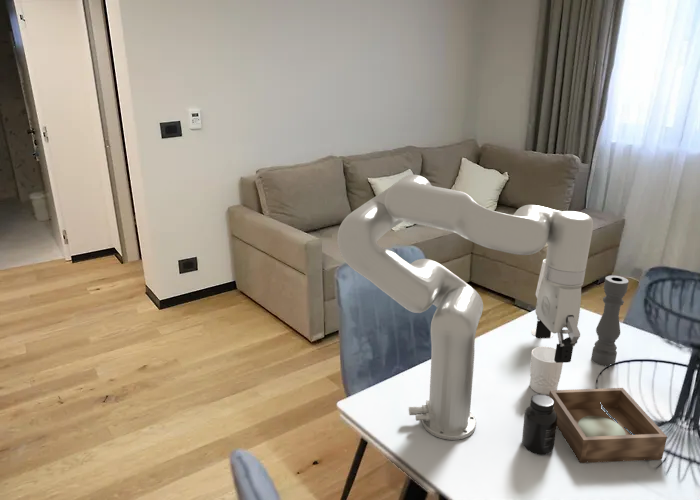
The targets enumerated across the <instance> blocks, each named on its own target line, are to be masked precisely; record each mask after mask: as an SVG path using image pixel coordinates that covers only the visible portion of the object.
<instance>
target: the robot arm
mask: <svg viewBox="0 0 700 500" xmlns="http://www.w3.org/2000/svg"><path fill="white" fill-rule="evenodd" d="M404 222H406V223H410V224H414V225H418V226H419V225H420V226H425V227H430V228H434V229H439V230H442V231H447V232H451V233H455V234H457V235H458V236H460V237H462V238H464V239H465V240H467V241H469V242H473V243H474V244H477V245H479V246H481V247H484V248H487V249H489V250H490V249H491V250H495V251H499V252H503V253H508V254H512V255H520V256H529V255H533V254H536V253H539V252H540V251H541V250H542V249H544V247H546V245H547V251H546V256H545V259H546V263H545V269H544V276H543V278H542V281H541V285H540V289H539V294H538V298H537V297H536V299H537V300H536V304H535V315H536V334H535V336H534V337H535V338H536V339H551V338H550V336H551V332H552V333H553V334H557V338H558V343H556V347H555V349H556V352H555V359H554V361H555V362H556V363H563V364H564V363H571V362H572V356H573V351H574V347H575V346H576V345H577V344H578V340H579V339H580V337H581V332H580V329H579V328H578V325H579V319H580V311H581V302H582V286H583V285H584V281H585V275H586V269H587V264H588V257H589V254H590V253H589V252H590V247H591V242H592V235H593V231H594V220H593V218H592V217H591V215H588V214H587V213H584V212H580V211H575V210H563V211H562V210H557V209H553V208H550V207H546V206H542V205H538V204H537V205H536V204H526V205H522V206H521V207H519V208H518V209H517V210H516V211H515V212H514V213H513V214H509V213H503V212H500V211H495V210H492V209H490V208H488V207H484V206H483V205H480V203H477V202H476V201H475V200H474V199H473V198H472V196H470V195H469V194H468V193H466V192H464V191H460V190H455V189H450V188H445V187H440V186H434V185H432V183H431V182H430V181H429V179H427V178H426V177H424V176H422V175H420V174H419V175H418V174H408V175H406V176H404V177H401V179H399V180H398V181H396V182H394V183H393V185H391V186H390V187H388V188H387V189H385V190H384V191H382V192H380V193H379V194H377V195H376V196H374V197H373V198H371V199H369V200H368V201H366V202H365V203H363V204H362V205H360V206H359V207H357V208H356V209H354V210H353V211H351V212H350V213H349V214H347V216H346V217H344V219H343V220H342V222H341V223H340V226H339V228H338V231H337V237H336V239H337V247H338V251H339V253H340V255H341V258H342V260H343V261H344V263H346V265H348V267H350V269H352V270H354V272H356V273H358V274H359V275H360V276H361V277H364V278H365V279H367V280H368V281H369V282H371V283H372V284H373V285H374V286H375V287H377V288H378V289H379V290H381V291H382V292H383V293H385V294H386V295H387V296H389V298H391V299H392V300H394V301H395V302H396V303H398V304H399V305H400V306H401V307H402V308H404V309H406V310H407V311H409V312H411V313H413V314H414V313H416V314H421V313H424V312H426V311H428V310H429V309H430V308H431V307H432V306H435V307H436V310H435V312H434V313H433V317H432V319H431V323H430V340H431V341H430V342H431V352H430V353H431V355H430V357H431V359H430V376H429V377H430V380H429V382H430V383H429V398H428V399H429V400H426V401H425V404H422V405H421V406H409V407H408V415H409V416H415V421H421V425H422V426H423V428H424V429H425V430H426V431H427V432H428V433H430V434H431V435H432V436H434V437H437V438H440V439H444V440H450V441H451V440H452V441H454V440H455V441H457V440H462V439H465V438H468V437H469V436H471V435H472V434H473V433H474V431H475V430H476V428H477V427H476V426H477V421H476V418H475V415H474V414H473V413H472V412H471V404H472V390H473V378H474V366H475V365H474V364H475V341H476V334H477V329H478V325H479V323H480V319H481V317H482V313H483V310H484V303H483V298H482V297H481V294H479V293H478V291H477V290H476V289H475V288H473V287H472V285H470V284H468V283H467V282H466V281H465V280H463V279H462V278H460V277H459V276H458V275H456V274H455V273H453V272H452V271H450V270H449V269H448V268H447V267H445V266H444V265H442V264H441V263H439V262H437V261H435V260H432V259H429V258H420V259H419V258H418V259H416V260H413V262H411V263H409V261H406V260H405V259H403V258H402V257H401V256H399V255H398V254H397V253H396V252H395V251H392V250H390V249H389V248H385V247H383V246H381V245H380V244H378V241H379V240H380V239H381V238H382V237H383V236H384V235H385V234H387V233H388V232H389V231H391V230H392V229H394V228H395V227H396V226H398V225H399V224H401V223H404ZM564 328H566V329H564ZM565 334H567V336H568V337H566V338H564V335H565Z"/></svg>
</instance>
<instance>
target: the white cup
mask: <svg viewBox="0 0 700 500" xmlns="http://www.w3.org/2000/svg"><path fill="white" fill-rule="evenodd" d="M555 352H556V348H554V347H549V346H536V347H535V348H533V349H532V350H531V353H530V354H531V356H530V370H529V371H530V372H529V373H530V380H529V381H530V382H529V386H530V387H529V388H531V390H532V391H534V392H535V393H537V394H544V395H547V396H549V393H550V390H558V387H559V383H560V379H561V374H562V372H563V371H562V370H563V366H564V365H563V364H564V363H556V362H555V361H554V359H555Z"/></svg>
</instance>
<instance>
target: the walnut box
mask: <svg viewBox="0 0 700 500" xmlns="http://www.w3.org/2000/svg"><path fill="white" fill-rule="evenodd" d="M548 396H549V397H551V398H552V399H553V400H554V411H555V412H556V414H557V427H556V429H558V431H559V433H560V434H561V436H562V437H563V439H564V441H565V442H566V443H567V445H568V447H569V448H570V450H571V451H572V453H573V455H574V456H575V458H576V459H577V461H578V462H579V464H585V463H586V464H592V463H616V462H618V463H619V462H637V461H638V462H639V461H662V459H663V455H664V452H665V447H666V444H667V439H668V436H667V435H666V434H665V432H663V430H662V429H661V428H660V427H659V426H658V424H656V422H655V421H654V420H653V419H652V418H651V417H650V416H649V415H648V414H647V413H646V411H644V410H643V408H642V407H641V406H640V405H639V404H638V403H637V402H636V401H635V400H634V399H633V397H632V396H631V395H630V394H629V393H628V392H627V390H625V388H624V387H611V388H608V387H607V388H606V387H605V388H582V389H557V390H550V393H549V395H548ZM600 402H601V404H602V405H603V407H604V408H605V409H606V410H607V411H608V413H609V414H610V415H611V416H612V417H613V418H615V419H616V420H617V422H618V423H616V422H615V421H614V420H613V419H612V418H610V417H609V416H608V415H607V414H606V412H604V411H603V410H602V409H601V404H600ZM624 427H625V428H627V429H628V430H629V431H631V432H632V433H633V434H635V435H632V434H630V433H629V432H628V431H627V430H626V429H625V428H624Z"/></svg>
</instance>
